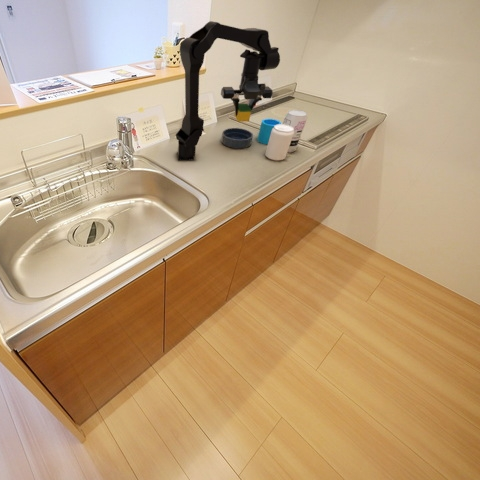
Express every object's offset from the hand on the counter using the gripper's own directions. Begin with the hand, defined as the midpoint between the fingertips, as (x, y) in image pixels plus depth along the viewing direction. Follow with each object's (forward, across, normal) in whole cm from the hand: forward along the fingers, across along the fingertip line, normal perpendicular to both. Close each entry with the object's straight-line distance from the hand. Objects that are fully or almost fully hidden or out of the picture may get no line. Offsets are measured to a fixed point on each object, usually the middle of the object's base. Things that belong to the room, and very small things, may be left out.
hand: (241, 115), depth 111 cm
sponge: (+1, 0, 0) cm, 1 cm away
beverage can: (+13, +14, -10) cm, 22 cm away
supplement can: (+13, +21, -3) cm, 25 cm away
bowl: (+13, +1, +3) cm, 13 cm away
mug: (+13, +17, +6) cm, 22 cm away
